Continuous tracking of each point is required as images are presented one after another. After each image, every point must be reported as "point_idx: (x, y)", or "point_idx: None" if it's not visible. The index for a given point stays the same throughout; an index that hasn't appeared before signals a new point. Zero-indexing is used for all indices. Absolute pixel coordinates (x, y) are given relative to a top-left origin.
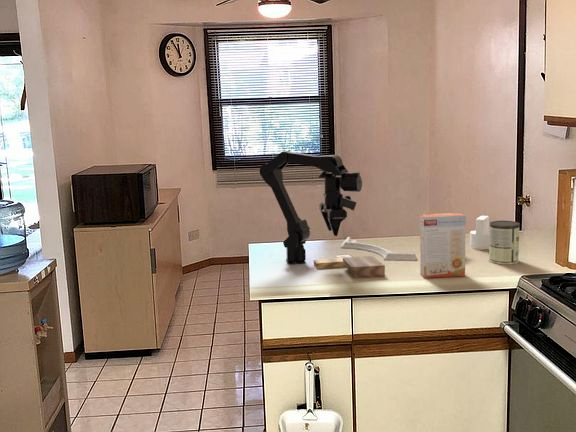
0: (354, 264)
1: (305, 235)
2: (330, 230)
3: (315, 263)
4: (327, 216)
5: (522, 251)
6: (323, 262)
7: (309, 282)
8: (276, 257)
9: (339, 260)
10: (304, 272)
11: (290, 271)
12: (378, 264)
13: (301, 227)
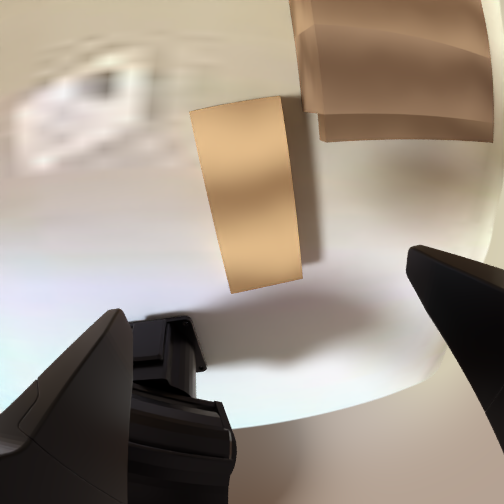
0: (465, 113)
1: (189, 429)
2: (124, 318)
3: (275, 280)
4: (95, 499)
5: None
6: (291, 245)
7: None
8: None
9: (258, 153)
10: (342, 305)
11: (315, 348)
12: (471, 13)
13: (212, 488)
